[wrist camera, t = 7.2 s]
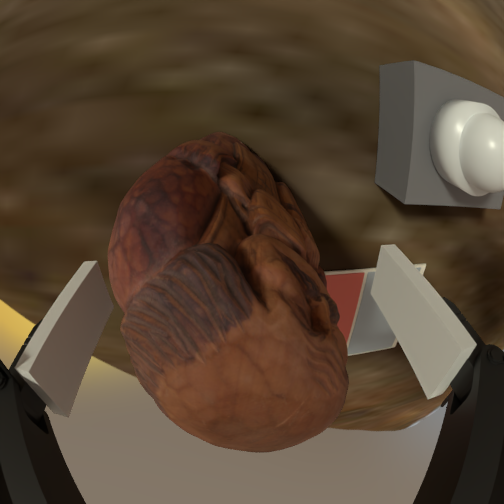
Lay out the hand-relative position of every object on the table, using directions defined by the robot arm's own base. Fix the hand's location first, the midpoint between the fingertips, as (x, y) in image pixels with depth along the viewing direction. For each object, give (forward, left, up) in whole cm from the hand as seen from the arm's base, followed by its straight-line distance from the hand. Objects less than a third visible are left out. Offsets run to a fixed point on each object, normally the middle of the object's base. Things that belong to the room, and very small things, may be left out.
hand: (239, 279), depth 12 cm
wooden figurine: (0, 0, -11) cm, 11 cm away
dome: (-16, -6, -6) cm, 18 cm away
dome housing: (-17, -6, -11) cm, 21 cm away
